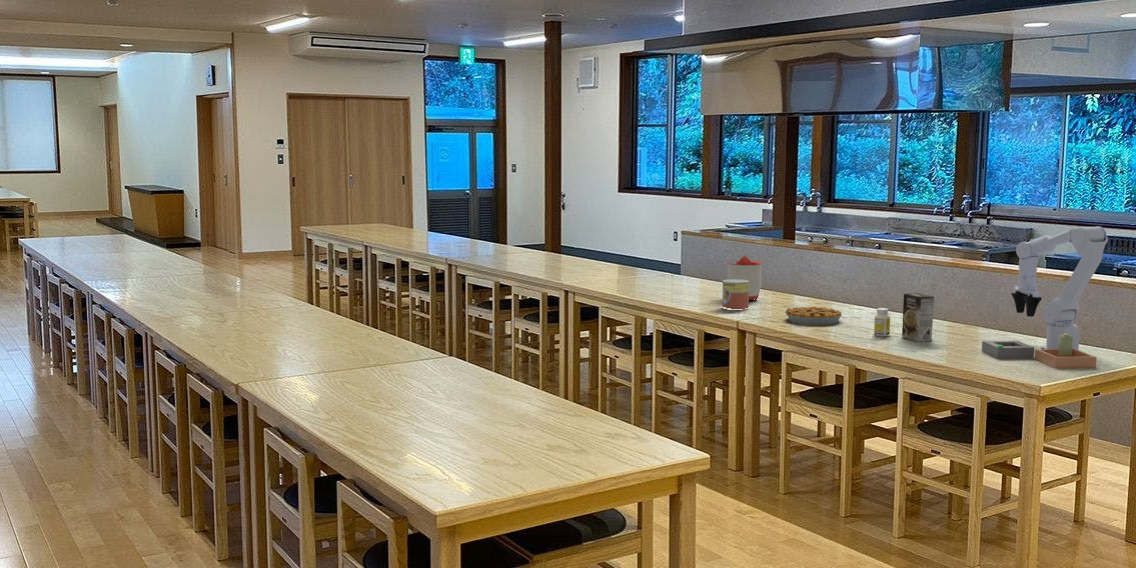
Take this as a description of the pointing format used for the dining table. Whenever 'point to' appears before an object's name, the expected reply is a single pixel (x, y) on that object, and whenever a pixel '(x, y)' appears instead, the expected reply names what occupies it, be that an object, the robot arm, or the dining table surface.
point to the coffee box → (917, 317)
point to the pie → (813, 315)
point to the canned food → (735, 294)
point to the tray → (1065, 359)
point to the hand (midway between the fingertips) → (1025, 314)
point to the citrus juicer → (747, 274)
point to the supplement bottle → (882, 322)
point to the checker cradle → (1008, 349)
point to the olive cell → (1065, 345)
